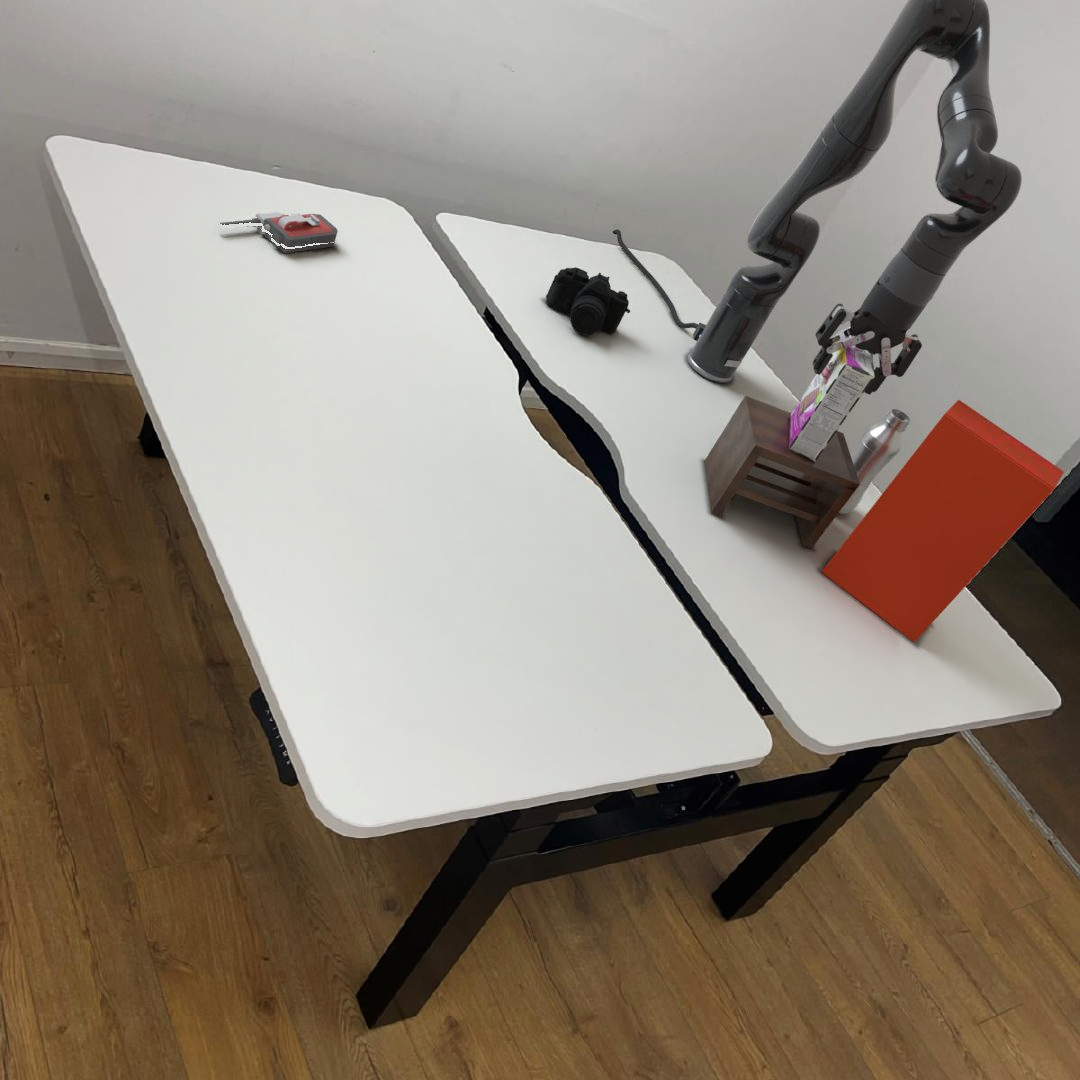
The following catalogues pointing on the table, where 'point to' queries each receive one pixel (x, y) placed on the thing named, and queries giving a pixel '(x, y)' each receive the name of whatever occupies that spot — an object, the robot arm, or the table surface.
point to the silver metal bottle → (876, 452)
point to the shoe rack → (779, 469)
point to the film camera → (587, 301)
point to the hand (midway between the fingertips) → (841, 381)
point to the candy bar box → (829, 401)
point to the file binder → (941, 520)
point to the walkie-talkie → (295, 230)
